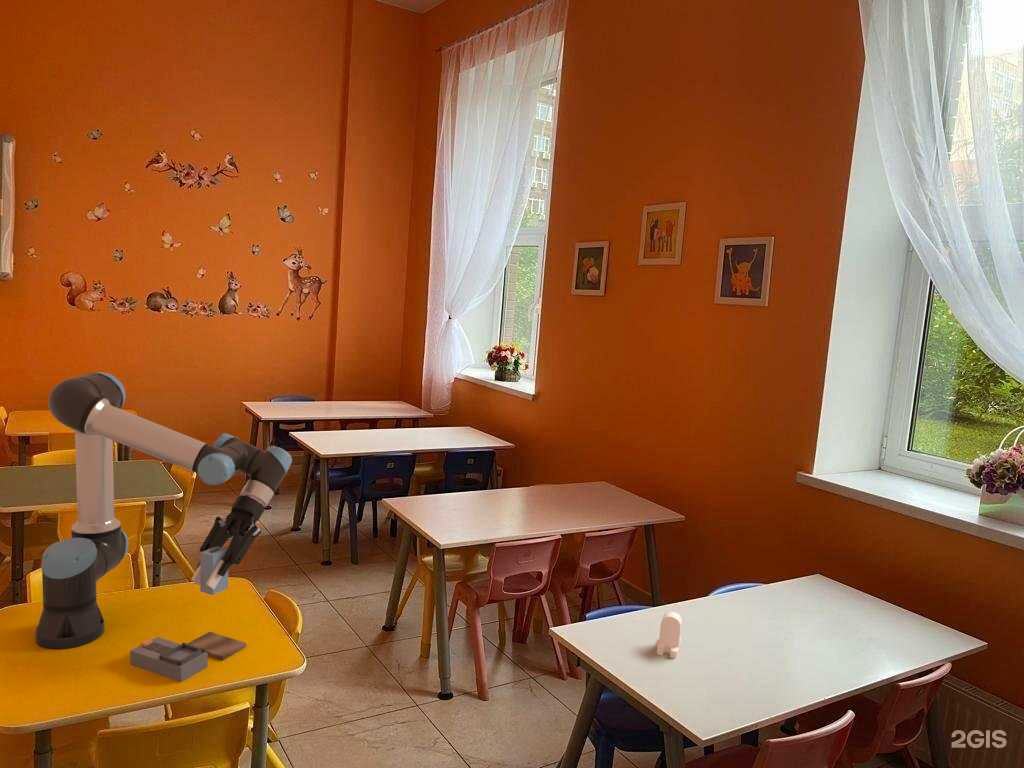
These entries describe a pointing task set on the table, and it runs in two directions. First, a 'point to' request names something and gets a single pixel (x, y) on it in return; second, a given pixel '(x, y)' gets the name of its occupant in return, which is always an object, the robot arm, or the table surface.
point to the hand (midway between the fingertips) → (202, 584)
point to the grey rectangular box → (169, 658)
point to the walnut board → (218, 645)
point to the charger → (212, 569)
